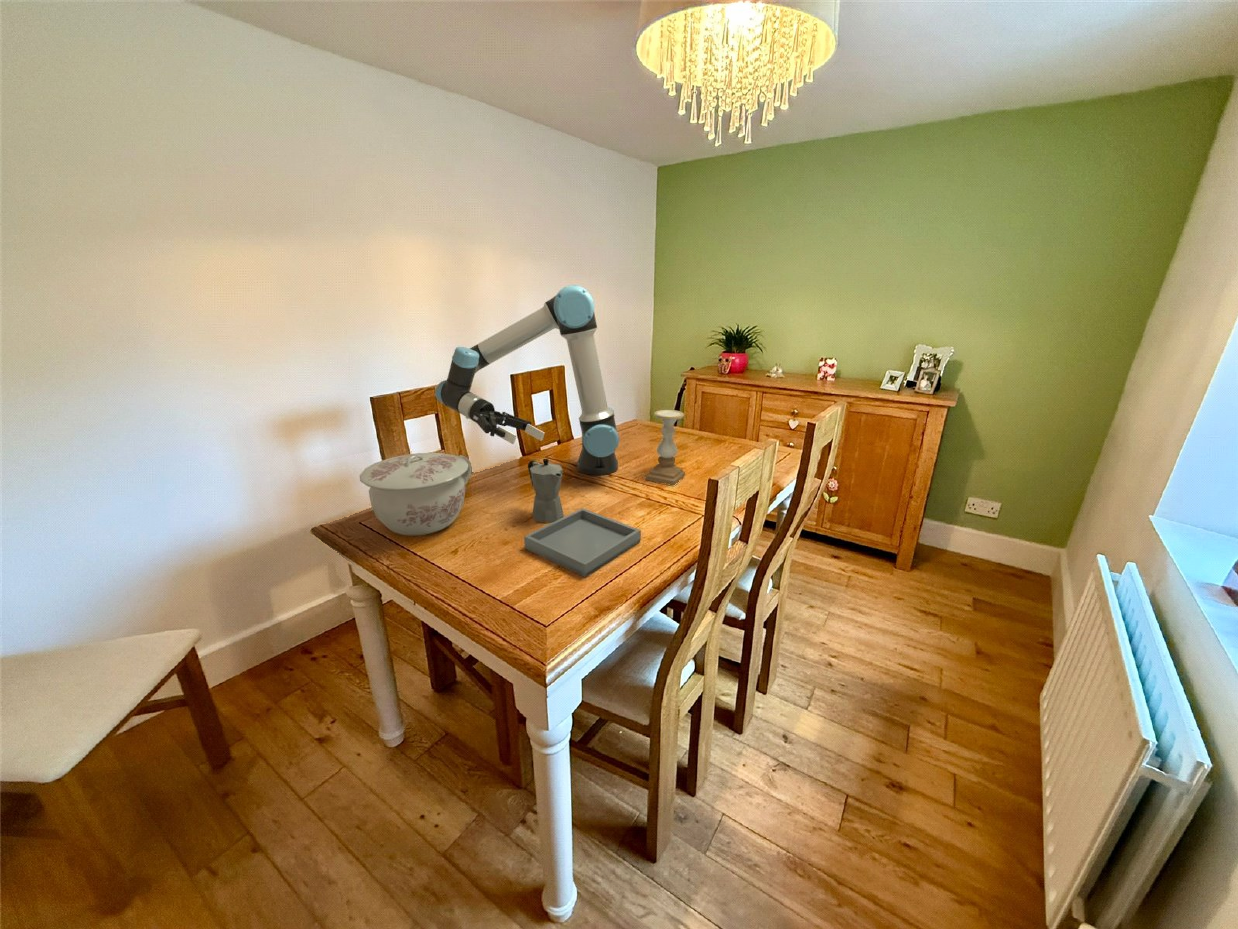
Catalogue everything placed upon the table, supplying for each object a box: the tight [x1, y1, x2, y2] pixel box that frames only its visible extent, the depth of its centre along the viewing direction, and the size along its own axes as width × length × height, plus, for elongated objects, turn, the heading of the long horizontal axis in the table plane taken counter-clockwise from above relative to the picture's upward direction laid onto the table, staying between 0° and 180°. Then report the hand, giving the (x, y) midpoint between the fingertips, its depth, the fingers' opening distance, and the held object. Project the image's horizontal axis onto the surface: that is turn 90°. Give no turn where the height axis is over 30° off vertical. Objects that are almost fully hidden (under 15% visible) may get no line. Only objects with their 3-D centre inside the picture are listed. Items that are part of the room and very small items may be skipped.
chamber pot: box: [359, 452, 473, 537], centre depth 134 cm, size 28×28×21 cm
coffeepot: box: [527, 458, 565, 524], centre depth 141 cm, size 15×9×18 cm, turn 44°
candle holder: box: [645, 409, 686, 486], centre depth 169 cm, size 11×11×24 cm
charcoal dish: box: [523, 507, 642, 578], centre depth 127 cm, size 22×21×4 cm
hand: (529, 438), depth 143 cm, fingers open, 13 cm apart
